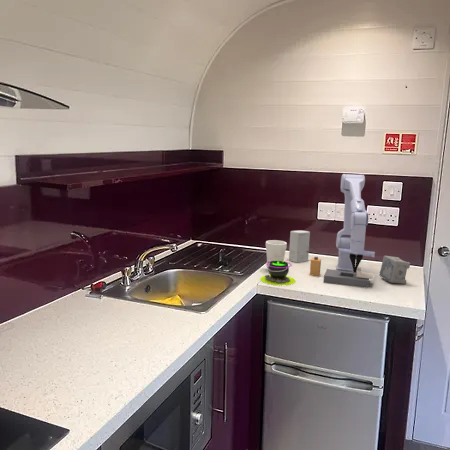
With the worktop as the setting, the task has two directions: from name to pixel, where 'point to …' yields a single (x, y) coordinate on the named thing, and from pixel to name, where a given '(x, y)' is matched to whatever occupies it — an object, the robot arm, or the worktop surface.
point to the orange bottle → (315, 266)
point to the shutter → (364, 274)
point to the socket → (345, 278)
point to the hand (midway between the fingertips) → (354, 271)
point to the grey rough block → (394, 269)
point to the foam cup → (275, 250)
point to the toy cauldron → (278, 273)
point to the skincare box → (299, 246)
